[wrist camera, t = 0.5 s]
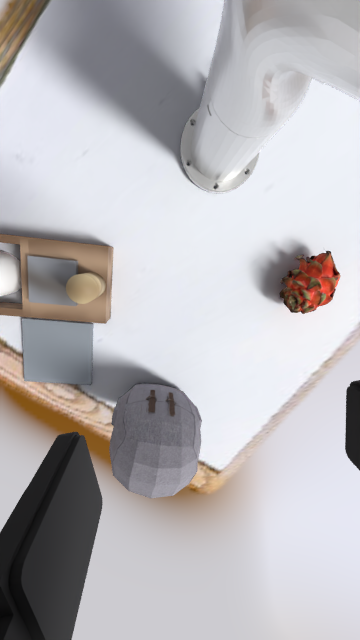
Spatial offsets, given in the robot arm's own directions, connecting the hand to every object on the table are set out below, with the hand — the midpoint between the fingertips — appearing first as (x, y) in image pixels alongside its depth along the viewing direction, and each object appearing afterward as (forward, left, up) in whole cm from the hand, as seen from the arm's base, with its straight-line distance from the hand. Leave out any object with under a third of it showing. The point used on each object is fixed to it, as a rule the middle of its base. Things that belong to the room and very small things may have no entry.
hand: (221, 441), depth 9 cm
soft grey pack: (+20, -1, -37) cm, 42 cm away
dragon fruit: (-5, +23, -37) cm, 44 cm away
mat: (+13, -20, -37) cm, 44 cm away
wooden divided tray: (-1, -23, -37) cm, 43 cm away
